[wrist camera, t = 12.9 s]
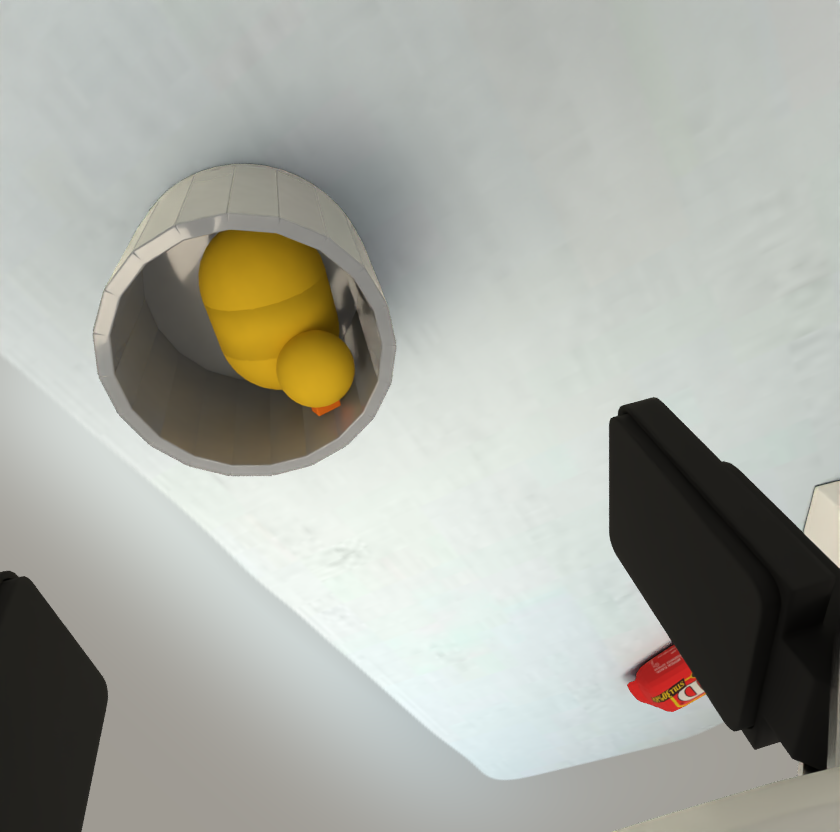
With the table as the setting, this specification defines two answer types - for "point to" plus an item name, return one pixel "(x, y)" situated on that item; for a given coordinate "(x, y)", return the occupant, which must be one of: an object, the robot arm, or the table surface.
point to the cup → (196, 340)
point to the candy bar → (666, 682)
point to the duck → (276, 316)
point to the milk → (825, 520)
